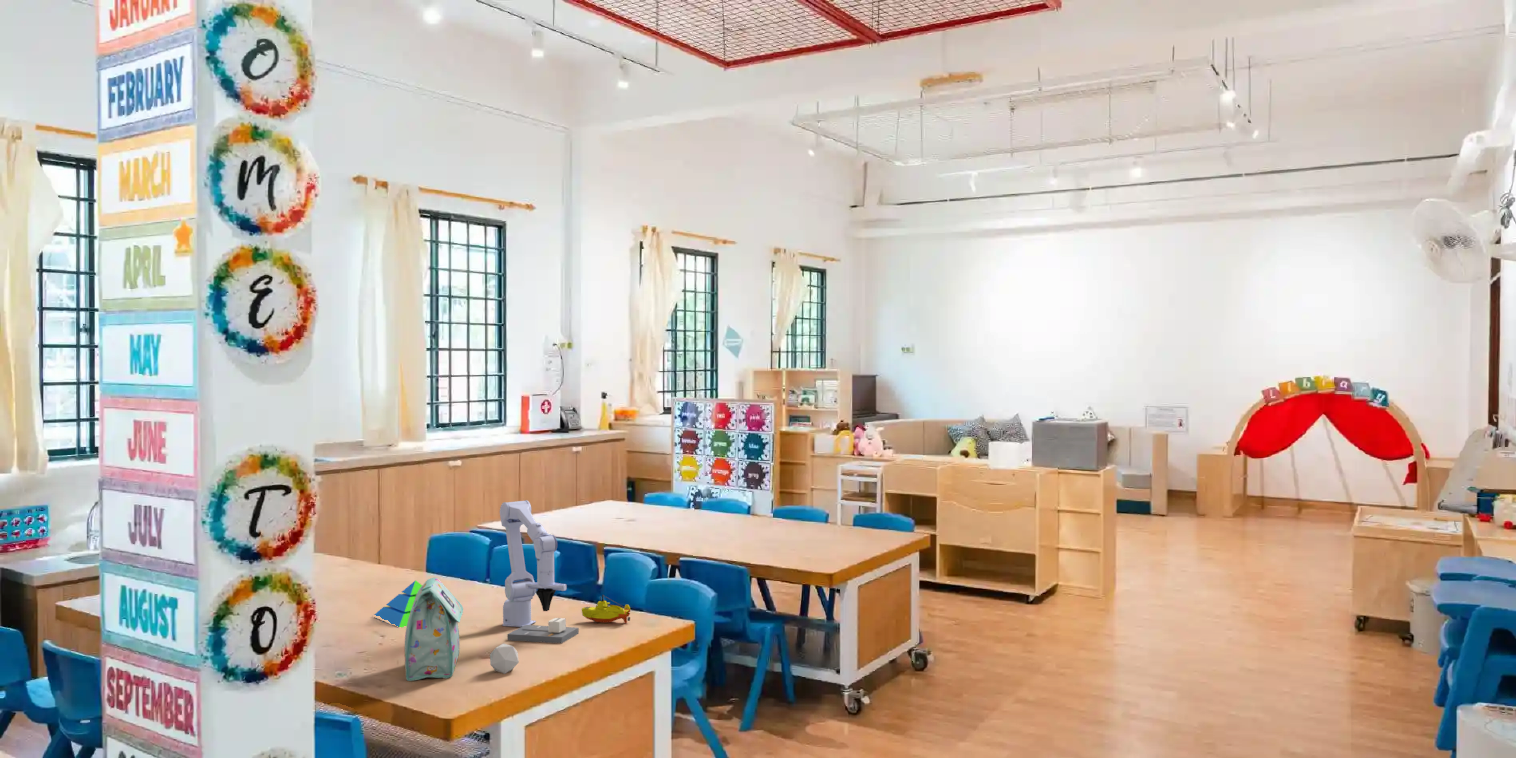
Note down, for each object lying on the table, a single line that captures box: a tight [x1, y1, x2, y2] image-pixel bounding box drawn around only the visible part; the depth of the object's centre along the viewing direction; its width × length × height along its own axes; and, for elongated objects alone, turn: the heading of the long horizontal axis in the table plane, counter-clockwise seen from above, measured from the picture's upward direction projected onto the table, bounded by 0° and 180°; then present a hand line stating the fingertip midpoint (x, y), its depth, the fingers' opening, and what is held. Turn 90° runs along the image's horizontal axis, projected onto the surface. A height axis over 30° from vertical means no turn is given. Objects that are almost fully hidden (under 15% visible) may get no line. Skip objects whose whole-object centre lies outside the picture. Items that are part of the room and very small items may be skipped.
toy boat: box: [581, 594, 631, 624], centre depth 357 cm, size 6×18×10 cm, turn 78°
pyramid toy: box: [373, 580, 423, 628], centre depth 370 cm, size 25×25×14 cm
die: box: [489, 642, 520, 675], centre depth 299 cm, size 8×9×10 cm
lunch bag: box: [404, 577, 464, 682], centre depth 301 cm, size 23×16×27 cm
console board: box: [506, 624, 580, 644], centre depth 338 cm, size 20×13×2 cm, turn 75°
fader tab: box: [547, 617, 567, 633], centre depth 337 cm, size 4×5×4 cm
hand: (546, 610), depth 340 cm, fingers closed
